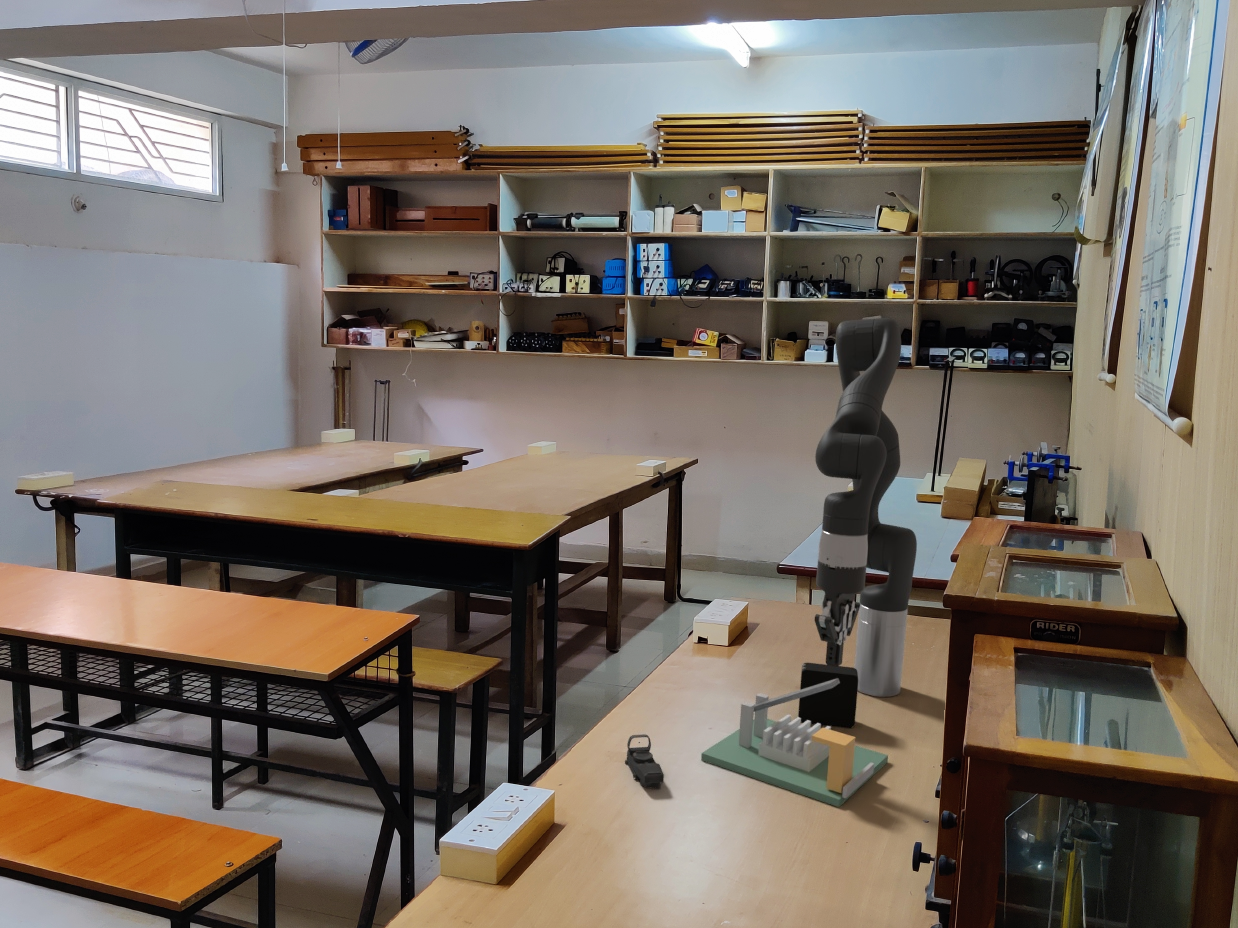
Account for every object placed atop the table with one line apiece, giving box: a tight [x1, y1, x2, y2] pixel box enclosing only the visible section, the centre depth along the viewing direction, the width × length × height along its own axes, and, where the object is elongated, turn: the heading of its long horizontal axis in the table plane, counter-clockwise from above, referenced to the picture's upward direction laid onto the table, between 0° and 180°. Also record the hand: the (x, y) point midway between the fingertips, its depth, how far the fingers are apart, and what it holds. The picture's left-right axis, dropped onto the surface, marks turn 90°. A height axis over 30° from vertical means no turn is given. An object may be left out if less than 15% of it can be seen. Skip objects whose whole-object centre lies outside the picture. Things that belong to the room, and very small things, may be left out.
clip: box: [811, 727, 856, 793], centre depth 151 cm, size 4×5×8 cm
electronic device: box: [797, 662, 859, 729], centre depth 179 cm, size 4×10×10 cm, turn 78°
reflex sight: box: [624, 733, 665, 790], centre depth 155 cm, size 4×10×5 cm, turn 13°
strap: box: [753, 678, 840, 713], centre depth 162 cm, size 4×16×1 cm, turn 54°
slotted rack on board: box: [700, 692, 889, 808], centre depth 162 cm, size 20×25×8 cm
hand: (833, 664), depth 158 cm, fingers closed
